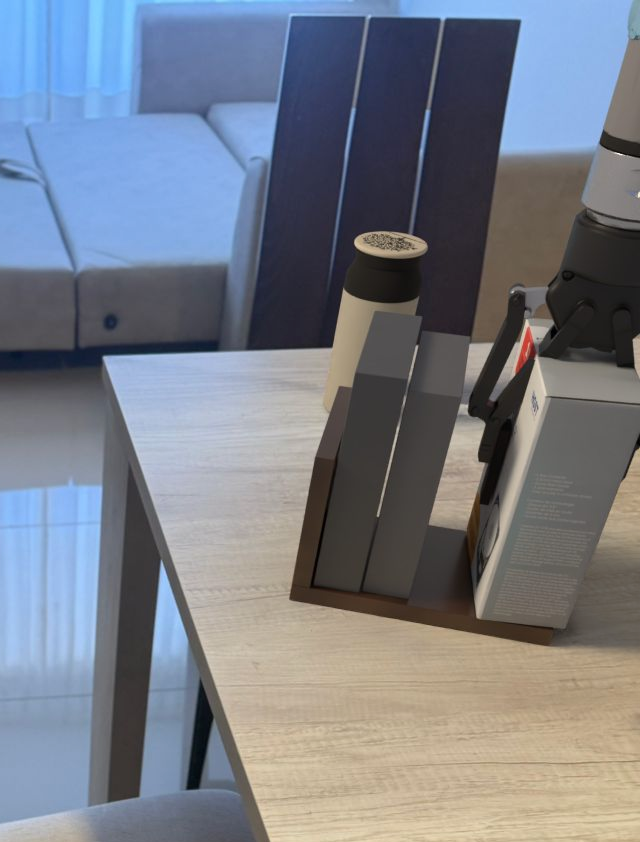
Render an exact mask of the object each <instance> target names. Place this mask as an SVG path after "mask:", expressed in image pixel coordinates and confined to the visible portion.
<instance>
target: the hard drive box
mask: <svg viewBox="0 0 640 842" xmlns="http://www.w3.org/2000/svg"><path fill="white" fill-rule="evenodd" d="M553 324H554V322H553V319H548V318H547V319H546V318H537V317H536V318H535V317H534V318H533V317H531V318H530V319H524V324H523V329H522V333H521V336H520V340H519V343H518V347H517V351H516V355H515V357H514V361H513V365H512V368H511V372H510V374H509V375H510V376H509V379H508V382H507V385H508V384H509V382H510V381H511V380H512V378H513V377H514V376H515V375H516V373H517V372H518V371H519V370H520V368H521V367H522V366H523V365H524V363H525V362H526V361H527V359H528V358H529V357H530V358H532V359H534V360H536V361H535V363H534V367H533V370H532V373H531V376H530V379H529V383H528V386H527V389H526V392H525V396H524V399H523V400H522V402H521V403H520V404H519V405H518V407H517V408H516V409H515V410H514V411H513V413H512V414H511V415H510V416H509V419H511V433H510V436H509V439H508V443H507V446H506V449H505V452H504V456H503V459H502V462H501V466H500V469H499V472H498V475H497V479H496V482H495V485H494V489H493V492H492V495H491V499H490V502H489V505H482V504H479V501H480V490H481V487H482V483H483V480H484V476H485V473H486V470H487V466H488V463H484V465H483V469H482V473H481V476H480V480H479V483H478V487H477V490H476V492H475V493H476V494H475V497H474V501H473V505H472V508H471V511H470V514H469V519H468V522H467V525H466V526H467V527H466V531H467V539H468V552H469V557H470V565H471V574H472V583H473V594H474V602H475V609H476V617H477V618H478V619H482V620H492V621H501V622H510V623H517V624H526V625H534V626H543V627H552V628H554V629H562V630H563V629H566V627H567V625H568V622H569V621H570V618H571V615H572V612H573V610H574V607H575V605H576V602H577V600H578V597H579V594H580V591H581V589H582V587H583V584H584V581H585V578H586V576H587V574H588V570H589V568H590V565H591V563H592V560H593V557H594V555H595V552H596V550H597V546H598V544H599V542H600V539H601V536H602V534H603V532H604V529H605V526H606V523H607V521H608V518H609V514H610V513H611V510H612V507H613V504H614V502H615V500H616V497H617V494H618V491H619V489H620V486H621V484H622V482H623V481H622V478H623V476H624V473H625V471H626V468H627V465H628V463H629V460H630V457H631V455H632V452H633V449H634V446H635V444H636V441H637V439H638V436H639V433H640V377H639V374H638V371H637V369H636V368H635V369H634V368H628V367H617V363H616V354H615V350H612V353H608V352H601V351H598V350H596V349H594V348H582V349H577V348H569V346H568V347H567V349H566V350H565V351H564V352H563V353H562V355H561V356H560V357H559V358H558V359H553V358H546V357H538V354H539V344H540V343H541V342H542V340H543V339H544V337H545V335H546V333H547V332H548V331H549V329H550V328H551V327H552V326H553ZM621 481H622V482H621Z"/></svg>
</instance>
